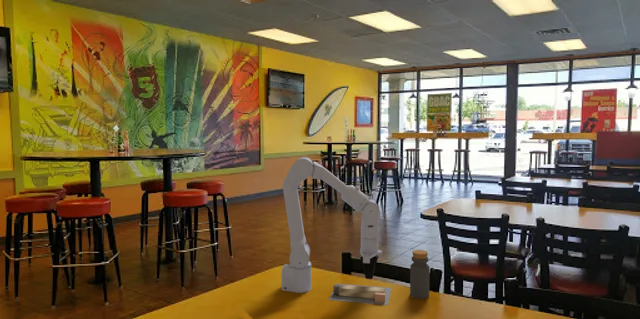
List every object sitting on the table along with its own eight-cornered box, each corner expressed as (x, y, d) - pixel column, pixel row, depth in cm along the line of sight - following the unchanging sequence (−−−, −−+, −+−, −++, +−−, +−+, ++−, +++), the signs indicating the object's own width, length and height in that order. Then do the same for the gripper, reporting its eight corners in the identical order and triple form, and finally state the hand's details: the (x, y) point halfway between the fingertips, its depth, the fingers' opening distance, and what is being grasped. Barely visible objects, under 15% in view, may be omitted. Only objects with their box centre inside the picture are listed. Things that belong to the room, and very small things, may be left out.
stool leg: (332, 294, 136) (332, 287, 136) (334, 291, 139) (334, 283, 139) (383, 299, 133) (383, 291, 132) (384, 295, 136) (384, 288, 135)
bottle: (429, 303, 133) (430, 255, 132) (410, 301, 134) (410, 254, 133) (428, 295, 139) (429, 249, 138) (410, 294, 140) (410, 248, 139)
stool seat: (328, 303, 133) (328, 299, 133) (337, 286, 147) (337, 283, 147) (387, 309, 129) (387, 305, 129) (391, 291, 143) (391, 287, 142)
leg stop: (374, 301, 131) (374, 294, 131) (375, 299, 133) (375, 292, 133) (384, 302, 131) (384, 295, 130) (385, 300, 132) (385, 293, 132)
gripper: (379, 244, 133) (379, 287, 134) (384, 232, 147) (383, 272, 148) (356, 242, 135) (356, 285, 136) (363, 231, 149) (363, 270, 150)
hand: (369, 278), depth 142 cm, fingers closed
